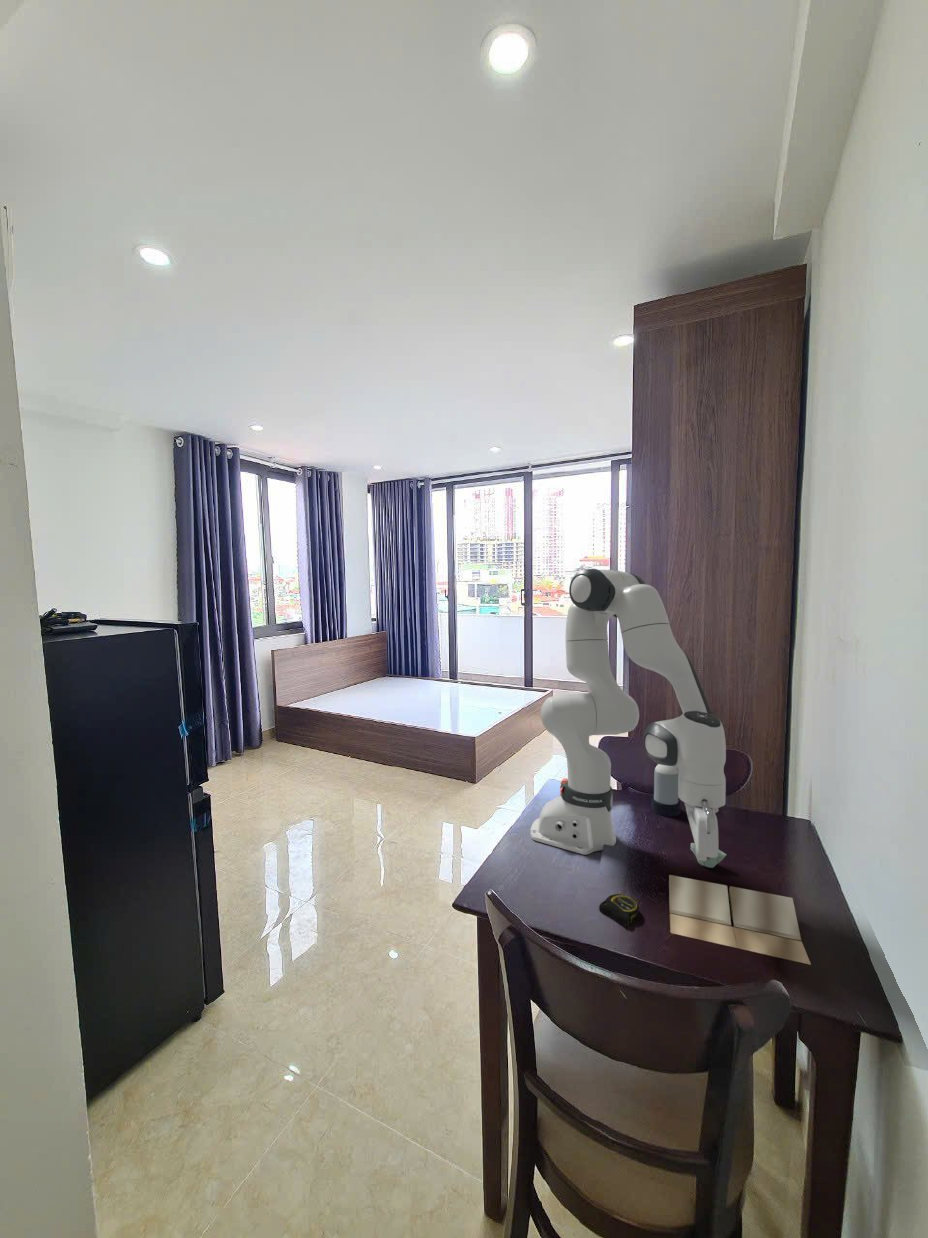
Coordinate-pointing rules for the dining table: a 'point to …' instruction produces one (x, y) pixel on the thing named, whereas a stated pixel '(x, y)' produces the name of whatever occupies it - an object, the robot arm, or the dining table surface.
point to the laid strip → (739, 938)
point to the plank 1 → (699, 899)
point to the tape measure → (621, 909)
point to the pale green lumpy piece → (709, 858)
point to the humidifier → (666, 791)
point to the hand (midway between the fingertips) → (701, 857)
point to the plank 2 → (764, 912)
